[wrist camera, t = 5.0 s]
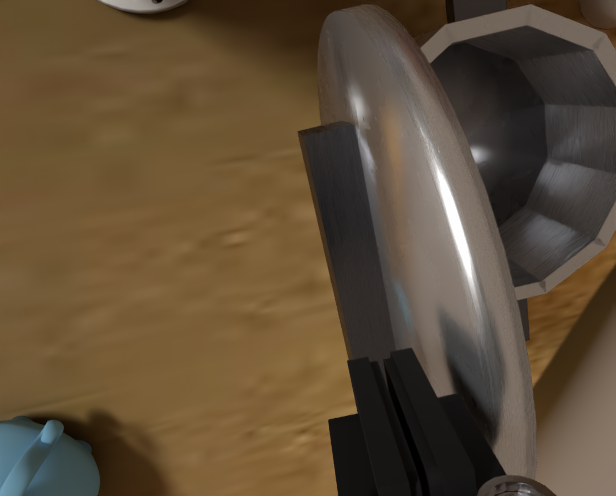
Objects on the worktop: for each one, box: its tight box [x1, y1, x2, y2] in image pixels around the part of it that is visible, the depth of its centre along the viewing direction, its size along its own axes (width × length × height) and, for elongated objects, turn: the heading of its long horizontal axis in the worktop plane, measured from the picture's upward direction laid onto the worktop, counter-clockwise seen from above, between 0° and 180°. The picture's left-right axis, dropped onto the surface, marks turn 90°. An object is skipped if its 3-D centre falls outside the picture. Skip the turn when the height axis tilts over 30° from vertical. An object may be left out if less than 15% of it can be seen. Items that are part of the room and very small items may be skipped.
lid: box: [297, 4, 537, 480], centre depth 19 cm, size 19×19×3 cm
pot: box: [413, 0, 616, 341], centre depth 33 cm, size 26×20×10 cm
